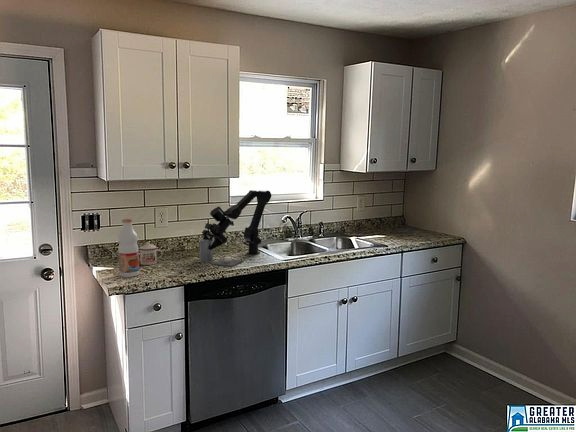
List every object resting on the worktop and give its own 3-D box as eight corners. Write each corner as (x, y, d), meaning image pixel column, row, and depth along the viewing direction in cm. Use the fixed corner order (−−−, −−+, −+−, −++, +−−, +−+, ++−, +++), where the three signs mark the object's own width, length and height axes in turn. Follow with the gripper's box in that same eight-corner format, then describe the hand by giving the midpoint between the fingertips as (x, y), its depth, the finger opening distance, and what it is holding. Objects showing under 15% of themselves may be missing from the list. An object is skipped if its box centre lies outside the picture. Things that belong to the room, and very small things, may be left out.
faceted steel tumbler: (204, 259, 272) (203, 238, 270) (215, 260, 269) (215, 239, 267) (197, 262, 265) (196, 240, 263) (208, 263, 262) (208, 241, 261)
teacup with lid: (140, 265, 256) (139, 244, 254) (139, 262, 264) (138, 241, 262) (163, 264, 260) (162, 243, 258) (161, 260, 268) (161, 240, 266)
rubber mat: (223, 259, 272) (223, 254, 271) (243, 261, 267) (243, 256, 266) (211, 264, 260) (211, 258, 259) (232, 267, 255) (232, 261, 254)
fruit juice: (125, 272, 243) (123, 217, 239) (142, 273, 241) (140, 218, 237) (115, 277, 234) (113, 220, 229) (133, 278, 232) (131, 221, 228)
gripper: (204, 215, 274) (187, 236, 268) (222, 219, 260) (205, 242, 254) (216, 227, 280) (200, 248, 274) (234, 232, 266) (217, 254, 260)
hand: (205, 248), depth 266 cm, fingers open, 9 cm apart
